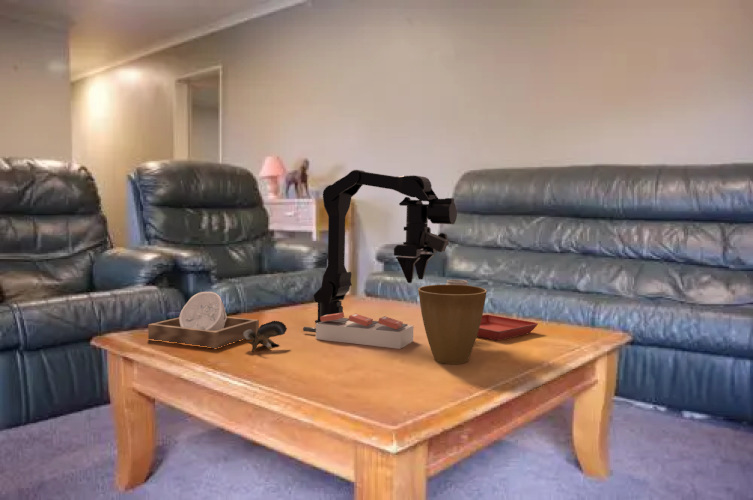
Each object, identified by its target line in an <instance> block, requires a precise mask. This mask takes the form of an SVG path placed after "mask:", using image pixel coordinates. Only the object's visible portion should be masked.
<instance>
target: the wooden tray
mask: <svg viewBox="0 0 753 500" xmlns="http://www.w3.org/2000/svg"><path fill="white" fill-rule="evenodd" d="M224 320H225V316H224ZM259 327H260V320H259V319H254V318H253V319H252V318H242V317H234V316H227V319H226V322H225V326H224V328H223V329H220V330H216V331H210V330H202V329H193V328H185V327H181V326H180V322H179V316H178V317H175V318H170V319H166V320H162V321H158V322H153V323H149V324H148V325H147V330H148V331H147V333H148V334H147V339H154V340H162V341H169V342H177V343H185V344H192V345H200V346H207V347H211V348H218V347H221V346H224V345H227V344H229V343H233V342H236V341H239V340H242V339H246V338H245V337H244V335H243V333H244V331H246V330H249V329H251V330H253V331H254V332H255V333H257V331H258V329H259ZM246 340H247V339H246ZM227 346H228V345H227ZM224 347H225V346H224ZM221 348H222V347H221ZM218 349H219V348H218Z"/></svg>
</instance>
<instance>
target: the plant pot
mask: <svg viewBox="0 0 753 500" xmlns="http://www.w3.org/2000/svg"><path fill="white" fill-rule="evenodd" d="M417 290H418V291H417V292H418V299H419V305H420V312H421V317H422V322H423V327H424V331H425V334H426V338H427V342H428V345H429V348H430V351H431V353H432V357H433V358H434V361H435V362H437V363H440V364H446V365H461V364H462V365H463V364H465V363H467V362H468V360H469V358H470V356H471V354H472V351H473V349H474V346H475V343H476V340H477V337H478V336H477V334H478V331H479V327H480V323H481V319H482V315H484V308H485V303H486V297H487V292H488V290H487V289H486V288H484V287H480V286H476V285H475V286H474V285H469V284H468V285H452V284H447V283H445V284H432V285H423V286H420V287H418V288H417Z"/></svg>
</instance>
